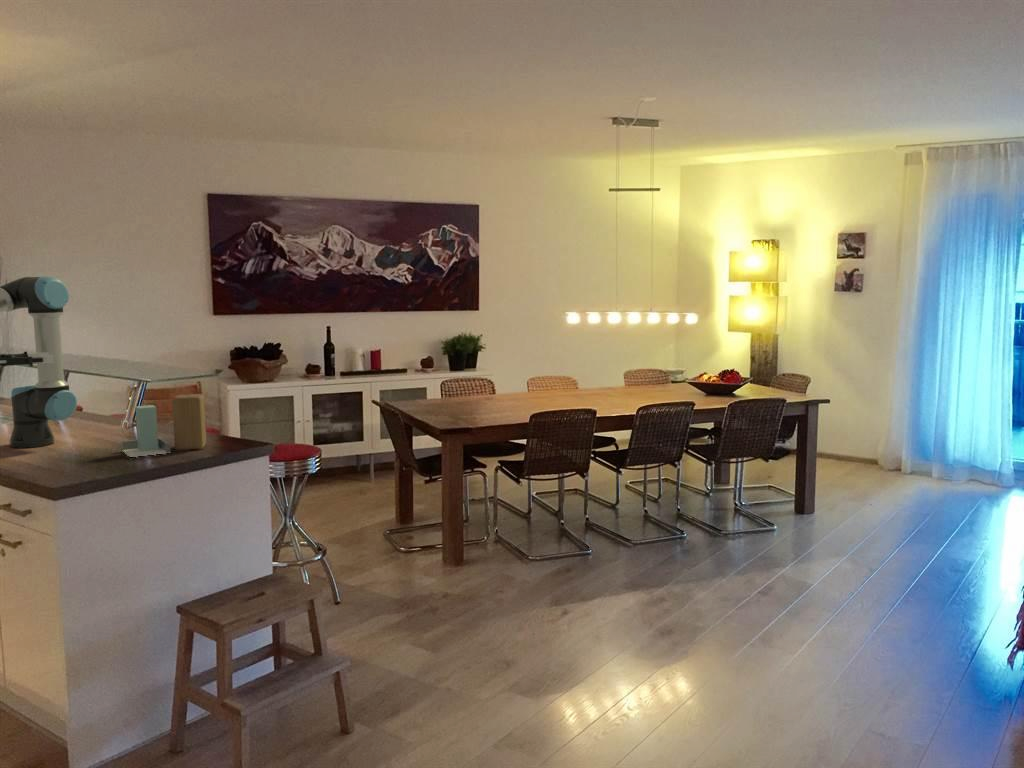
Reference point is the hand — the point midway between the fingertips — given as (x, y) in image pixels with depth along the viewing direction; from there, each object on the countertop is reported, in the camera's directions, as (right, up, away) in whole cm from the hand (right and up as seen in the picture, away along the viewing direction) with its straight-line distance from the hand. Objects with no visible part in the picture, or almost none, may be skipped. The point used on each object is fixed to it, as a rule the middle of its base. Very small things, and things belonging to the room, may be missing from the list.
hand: (51, 357), depth 307 cm
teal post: (+30, -34, +10) cm, 47 cm away
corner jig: (+30, -35, +9) cm, 47 cm away
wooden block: (+43, -34, +18) cm, 58 cm away
